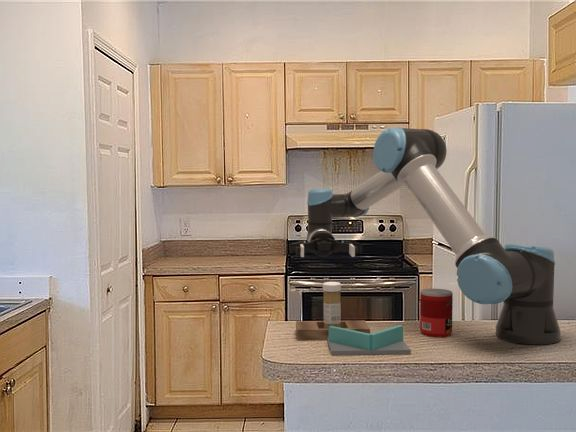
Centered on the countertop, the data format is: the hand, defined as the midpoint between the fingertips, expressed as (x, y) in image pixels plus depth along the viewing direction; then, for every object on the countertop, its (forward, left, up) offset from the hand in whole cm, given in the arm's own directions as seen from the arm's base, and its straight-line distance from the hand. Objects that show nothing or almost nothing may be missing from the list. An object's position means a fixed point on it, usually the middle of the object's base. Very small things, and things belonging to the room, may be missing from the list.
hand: (328, 252), depth 177 cm
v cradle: (-14, +18, -20) cm, 31 cm away
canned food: (-28, 0, -20) cm, 35 cm away
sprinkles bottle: (-3, +9, -20) cm, 23 cm away
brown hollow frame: (-3, +9, -20) cm, 22 cm away
